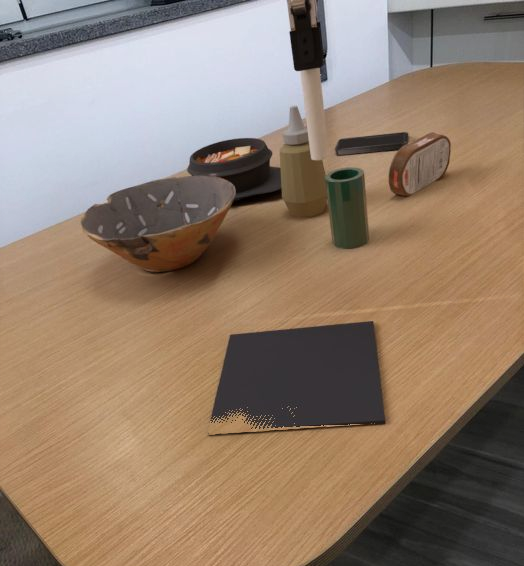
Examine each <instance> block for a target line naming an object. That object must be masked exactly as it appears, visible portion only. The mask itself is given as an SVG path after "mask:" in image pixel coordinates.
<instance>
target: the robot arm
mask: <svg viewBox="0 0 524 566" xmlns="http://www.w3.org/2000/svg"><path fill="white" fill-rule="evenodd" d="M286 3H287V4H286V5H287V12H288V19H289V20H288V21H289V28H290V30H289V33H288V34H289V41H290V48H291V56H292V63H293V69H294V71H295V72H300V71H303V70H309V69H315V68H322V67H323V65H324V59H325V55H324V44H323V36H322V34H323V33H322V25H321V21H319V14H318V5H317V0H286Z"/></svg>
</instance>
